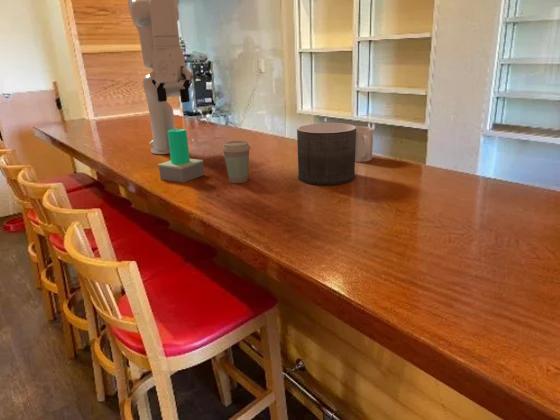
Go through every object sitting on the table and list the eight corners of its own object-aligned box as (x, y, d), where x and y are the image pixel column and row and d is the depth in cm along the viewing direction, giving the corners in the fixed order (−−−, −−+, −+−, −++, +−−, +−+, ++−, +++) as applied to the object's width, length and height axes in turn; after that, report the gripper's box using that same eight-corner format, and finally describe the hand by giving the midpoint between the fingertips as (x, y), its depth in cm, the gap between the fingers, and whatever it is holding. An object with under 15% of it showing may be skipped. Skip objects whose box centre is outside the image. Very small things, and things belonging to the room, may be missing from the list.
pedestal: (159, 179, 138) (157, 164, 137) (181, 171, 147) (180, 157, 145) (183, 182, 133) (181, 167, 132) (204, 174, 142) (203, 160, 140)
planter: (317, 189, 122) (317, 135, 116) (288, 175, 137) (286, 127, 131) (366, 179, 129) (368, 128, 124) (333, 167, 144) (334, 121, 139)
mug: (376, 156, 156) (378, 126, 153) (368, 164, 146) (370, 132, 142) (349, 155, 161) (349, 125, 157) (339, 162, 151) (340, 131, 147)
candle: (185, 164, 135) (181, 126, 131) (168, 164, 136) (163, 126, 132) (192, 160, 141) (188, 123, 137) (175, 159, 142) (171, 123, 138)
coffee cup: (256, 177, 136) (253, 140, 132) (245, 185, 128) (242, 146, 124) (232, 176, 139) (229, 140, 135) (220, 183, 131) (216, 145, 127)
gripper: (137, 44, 128) (145, 102, 134) (179, 42, 119) (186, 104, 125) (155, 44, 134) (162, 99, 140) (197, 42, 125) (202, 101, 131)
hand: (173, 101), depth 133 cm, fingers open, 9 cm apart
